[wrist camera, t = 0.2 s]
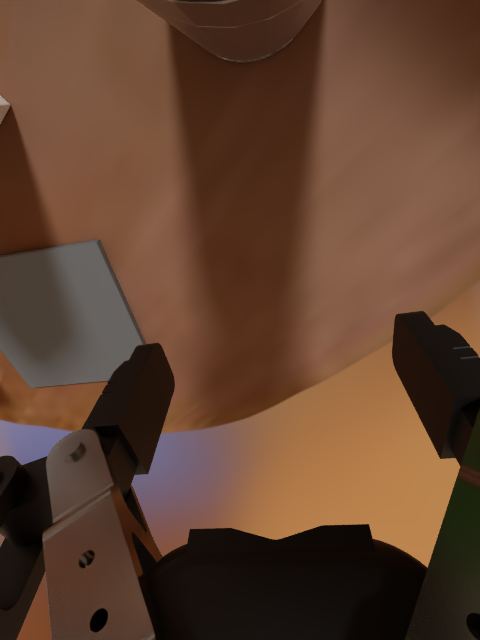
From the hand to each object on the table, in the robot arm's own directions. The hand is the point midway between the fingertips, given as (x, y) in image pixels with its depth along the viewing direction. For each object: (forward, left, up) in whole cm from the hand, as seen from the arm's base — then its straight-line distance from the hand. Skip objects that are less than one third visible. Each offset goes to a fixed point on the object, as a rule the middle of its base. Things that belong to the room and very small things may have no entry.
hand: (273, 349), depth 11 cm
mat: (+9, -23, -17) cm, 30 cm away
